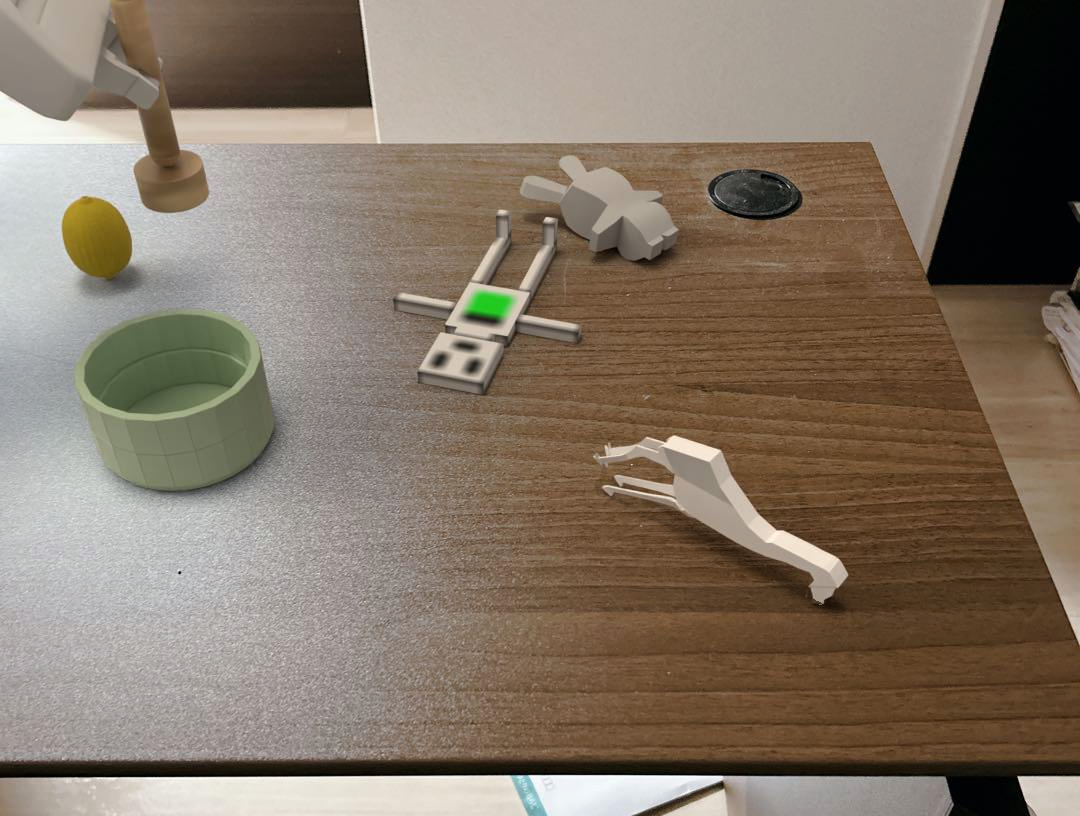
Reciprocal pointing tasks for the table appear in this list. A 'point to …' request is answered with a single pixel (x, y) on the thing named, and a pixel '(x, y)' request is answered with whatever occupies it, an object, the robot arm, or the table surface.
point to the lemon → (96, 237)
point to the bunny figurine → (607, 210)
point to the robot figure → (486, 317)
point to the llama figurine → (722, 505)
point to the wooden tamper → (158, 124)
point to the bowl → (176, 398)
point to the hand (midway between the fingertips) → (156, 87)
